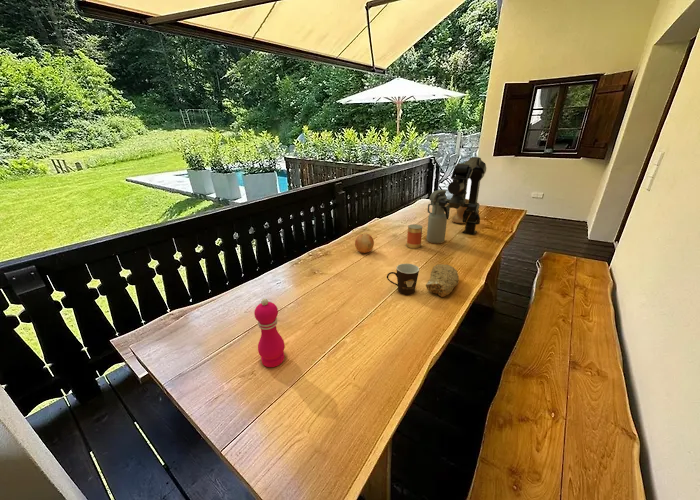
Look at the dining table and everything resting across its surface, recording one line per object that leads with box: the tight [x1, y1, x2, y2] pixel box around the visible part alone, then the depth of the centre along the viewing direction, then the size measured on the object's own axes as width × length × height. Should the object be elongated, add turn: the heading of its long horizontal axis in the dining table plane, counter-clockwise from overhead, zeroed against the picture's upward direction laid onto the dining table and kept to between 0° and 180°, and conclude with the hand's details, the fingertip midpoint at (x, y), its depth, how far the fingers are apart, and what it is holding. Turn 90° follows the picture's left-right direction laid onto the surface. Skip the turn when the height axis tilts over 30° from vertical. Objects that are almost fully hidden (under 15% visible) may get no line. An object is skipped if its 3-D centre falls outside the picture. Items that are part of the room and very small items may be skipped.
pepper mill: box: [253, 297, 286, 368], centre depth 81 cm, size 7×7×20 cm
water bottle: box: [426, 189, 448, 245], centre depth 162 cm, size 10×10×28 cm
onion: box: [354, 232, 375, 254], centre depth 152 cm, size 10×10×10 cm
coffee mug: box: [386, 263, 420, 296], centre depth 117 cm, size 12×9×10 cm
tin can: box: [406, 223, 423, 250], centre depth 159 cm, size 7×7×11 cm
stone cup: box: [450, 198, 469, 224], centre depth 196 cm, size 15×12×15 cm
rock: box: [425, 263, 460, 298], centre depth 121 cm, size 13×8×20 cm
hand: (456, 220), depth 153 cm, fingers open, 9 cm apart
